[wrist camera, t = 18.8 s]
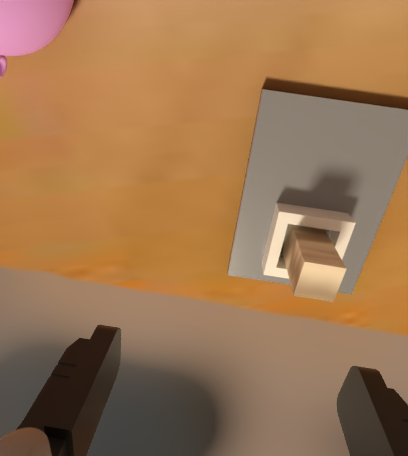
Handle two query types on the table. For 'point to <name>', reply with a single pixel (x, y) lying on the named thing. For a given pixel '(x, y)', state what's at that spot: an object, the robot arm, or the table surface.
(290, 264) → the block
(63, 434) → the robot arm
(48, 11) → the teapot
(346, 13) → the table surface
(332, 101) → the jig board
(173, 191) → the table surface
